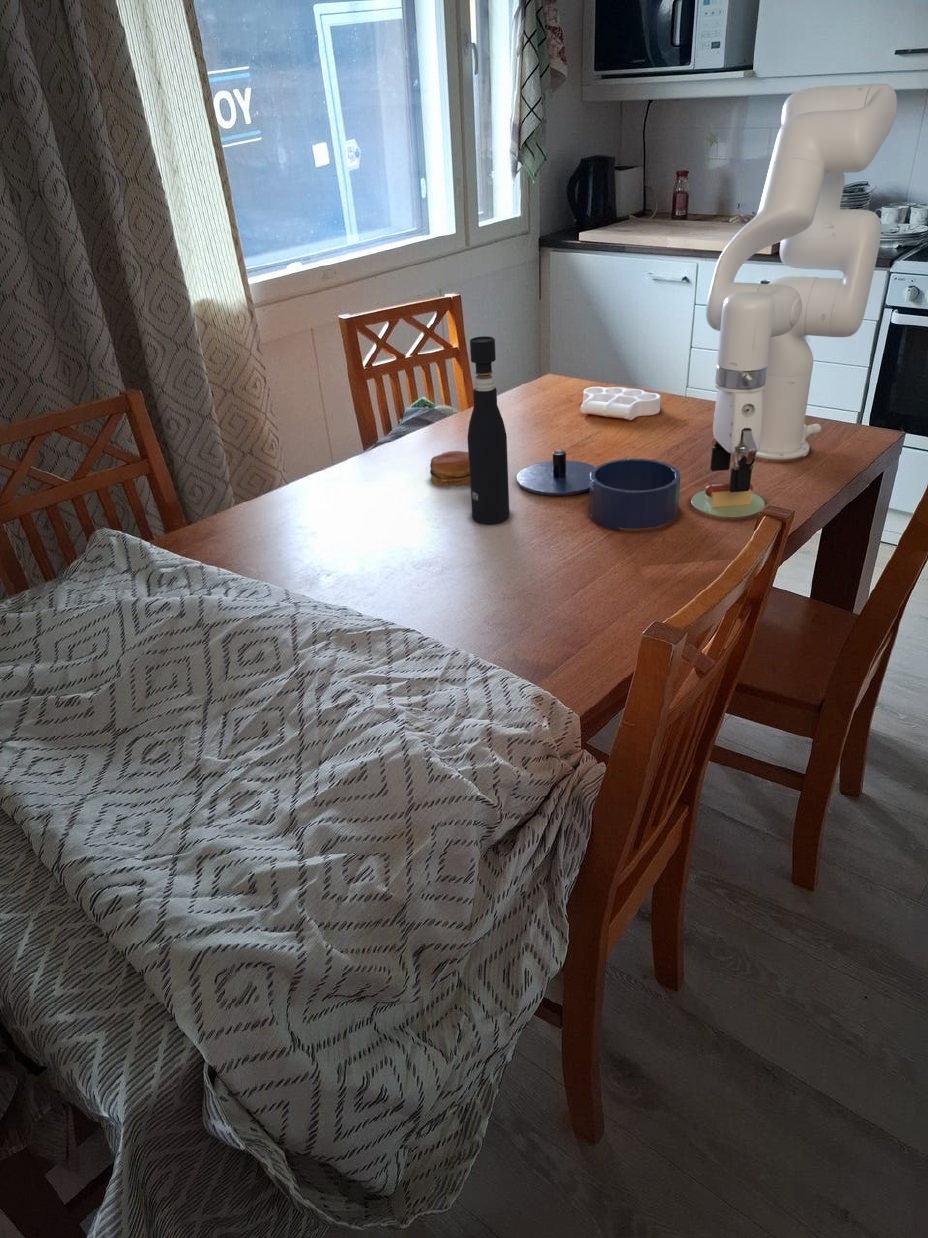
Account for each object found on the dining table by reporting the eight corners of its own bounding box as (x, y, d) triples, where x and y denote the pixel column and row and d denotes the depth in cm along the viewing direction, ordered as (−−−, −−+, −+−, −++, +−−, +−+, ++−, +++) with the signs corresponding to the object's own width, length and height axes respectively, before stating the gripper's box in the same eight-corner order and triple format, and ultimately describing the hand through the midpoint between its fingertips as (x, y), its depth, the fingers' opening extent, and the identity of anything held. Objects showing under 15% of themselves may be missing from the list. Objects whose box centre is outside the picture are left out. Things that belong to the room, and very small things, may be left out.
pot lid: (573, 459, 168) (573, 432, 165) (619, 485, 156) (620, 456, 153) (502, 477, 163) (500, 448, 160) (543, 505, 150) (543, 475, 147)
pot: (643, 489, 154) (645, 452, 150) (695, 518, 142) (698, 479, 138) (573, 508, 149) (573, 470, 145) (621, 539, 137) (623, 499, 134)
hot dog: (747, 495, 147) (749, 478, 145) (754, 503, 144) (756, 486, 142) (701, 499, 147) (702, 481, 145) (707, 507, 144) (709, 490, 142)
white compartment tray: (567, 414, 191) (595, 396, 202) (642, 425, 183) (668, 405, 193) (567, 400, 190) (595, 381, 200) (643, 409, 181) (669, 390, 191)
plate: (731, 486, 152) (731, 482, 152) (780, 509, 143) (780, 505, 143) (676, 501, 148) (676, 497, 148) (722, 526, 139) (723, 522, 139)
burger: (487, 483, 160) (485, 459, 158) (439, 492, 158) (437, 468, 156) (469, 466, 169) (468, 443, 166) (424, 474, 166) (422, 451, 164)
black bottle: (514, 510, 149) (508, 334, 134) (503, 526, 144) (496, 344, 128) (479, 507, 151) (469, 333, 136) (467, 523, 146) (455, 343, 130)
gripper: (785, 390, 127) (770, 498, 136) (745, 362, 142) (733, 461, 150) (735, 393, 127) (723, 501, 135) (700, 365, 142) (691, 464, 150)
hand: (728, 480), depth 143 cm, fingers open, 9 cm apart
